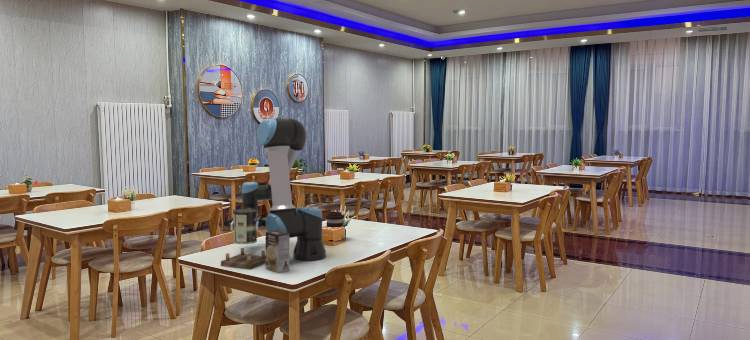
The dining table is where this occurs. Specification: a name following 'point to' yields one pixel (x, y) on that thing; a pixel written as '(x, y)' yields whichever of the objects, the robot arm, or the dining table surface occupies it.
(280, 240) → the coffee box
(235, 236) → the coffee can
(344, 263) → the dining table surface
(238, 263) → the standoff plate
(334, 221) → the coffee cup
